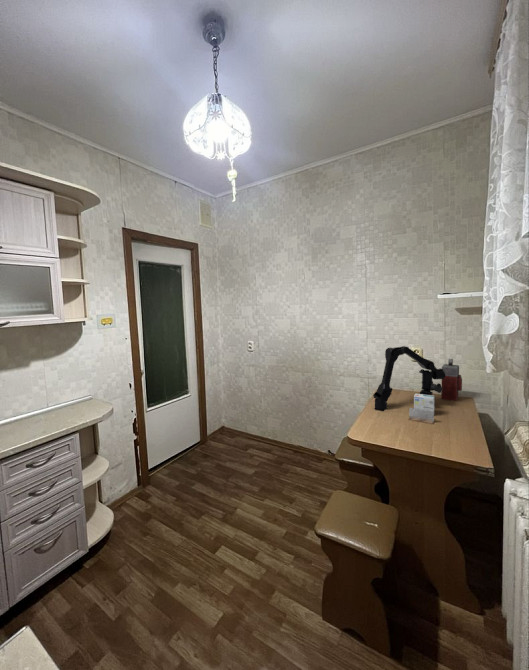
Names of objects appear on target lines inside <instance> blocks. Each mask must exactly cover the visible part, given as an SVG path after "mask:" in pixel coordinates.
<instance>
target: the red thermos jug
mask: <svg viewBox="0 0 529 670" xmlns="http://www.w3.org/2000/svg"><path fill="white" fill-rule="evenodd" d="M447 362H448V363H445V364H443V365H441V369H443V371H444V373H445V378H444V379H441V387H443V389H442V391H441V393H440V395H441V397H440V398H441V400H446V401H447V400H448V401H452V400H453V402H458V400H459V392H462V391H463V378H462V375H461V374H460V366H459V365H458V364H454V358H448V361H447Z"/></svg>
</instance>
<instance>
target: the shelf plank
mask: <svg viewBox="0 0 529 670" xmlns="http://www.w3.org/2000/svg"><path fill="white" fill-rule="evenodd" d="M408 421H412V422H419V423H424V424H429V425H430V424H431V425H434V423H435V421H434V422H433V421H427V420H421V419H415V418H408Z"/></svg>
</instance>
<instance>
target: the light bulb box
mask: <svg viewBox="0 0 529 670" xmlns="http://www.w3.org/2000/svg"><path fill="white" fill-rule="evenodd" d="M435 407H436V404H435V395H433V394H432V395H424V394H420V393H414V395H413V408H415V409H421V410H428V411H434V412H435V409H436V408H435Z"/></svg>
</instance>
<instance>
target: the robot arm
mask: <svg viewBox="0 0 529 670" xmlns="http://www.w3.org/2000/svg"><path fill="white" fill-rule="evenodd" d="M384 355H385V356H384V357H385V361H386V362H385V365H384V370H383V375H382V379H381V383H380V384H379V385H378V387H377V389H376V391H375V392H374V393H373V395H372V396H373V398H374V407H373V410H374V409H375V411H380V412H385V410H387V409H388V400H389V398H390V397H391V396H392V392H393V387H391V386H390V384H391V380H392V376H393V371H394V366H395V363H396V361H397V360H398V359H399V356H403V355H406V356H408V357H409V358H411V359H412V360H413V361H415V362H417V364H418V365H419V366H420V367H421V368H422V369H420V370H419V371H418V373H419V374H421V376H422V377H421V390H420V391H419V394H424V395H433V391H434V392H437V393H438V394H441V391H442V389H443V387H442V383H439V382H438V383H434V381H433V380H442V379H444V378H445V373H444V371H443V369H442V367H440V368H437V367H436V365H435V363H434V361H431V360H429V359H427V358H424V357H422V356H421V355H419V354H418V353H417V352H415V351H414V350H412V349H411V348H410V347H408V346H406V345H404V346H399V347H387V348H386V349H385V352H384Z"/></svg>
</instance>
